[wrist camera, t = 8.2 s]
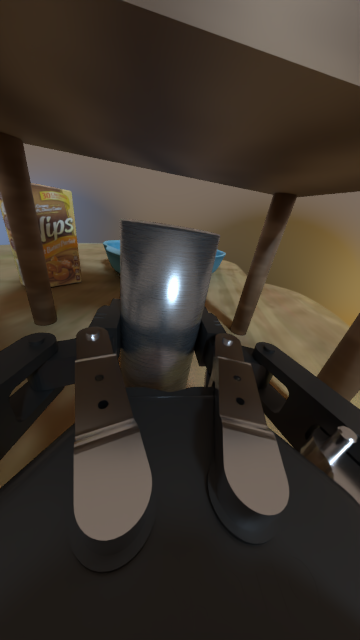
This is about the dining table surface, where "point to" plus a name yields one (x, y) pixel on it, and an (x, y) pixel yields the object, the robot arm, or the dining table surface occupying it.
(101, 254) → the dining table surface
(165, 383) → the metal canister
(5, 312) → the dining table surface
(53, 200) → the candy box
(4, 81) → the low stand
